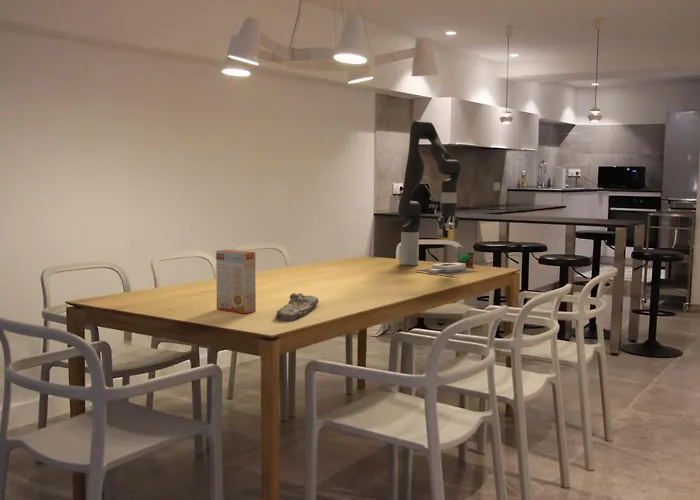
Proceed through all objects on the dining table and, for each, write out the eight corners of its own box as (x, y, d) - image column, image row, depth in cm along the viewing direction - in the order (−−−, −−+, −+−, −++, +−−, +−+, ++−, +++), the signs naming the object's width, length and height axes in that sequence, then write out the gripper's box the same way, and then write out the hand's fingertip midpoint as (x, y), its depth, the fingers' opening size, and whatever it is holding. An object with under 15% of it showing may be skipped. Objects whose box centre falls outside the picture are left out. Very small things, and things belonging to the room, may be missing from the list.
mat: (416, 272, 351) (416, 270, 351) (443, 268, 365) (443, 267, 365) (451, 277, 335) (451, 275, 335) (478, 273, 349) (478, 271, 349)
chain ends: (424, 271, 346) (424, 265, 346) (454, 268, 361) (454, 262, 360) (439, 274, 339) (439, 267, 339) (469, 270, 354) (469, 263, 354)
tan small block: (442, 239, 348) (442, 229, 348) (447, 239, 351) (447, 228, 351) (448, 240, 346) (448, 229, 345) (453, 239, 348) (454, 229, 348)
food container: (450, 265, 378) (451, 246, 377) (460, 265, 380) (461, 246, 379) (463, 268, 367) (464, 249, 366) (474, 268, 369) (474, 248, 368)
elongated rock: (268, 325, 235) (297, 328, 233) (268, 309, 234) (298, 312, 232) (297, 301, 269) (323, 303, 267) (297, 287, 268) (324, 289, 266)
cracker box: (256, 312, 249) (256, 251, 247) (243, 314, 244) (243, 253, 242) (229, 307, 258) (228, 248, 255) (216, 309, 253) (215, 250, 251)
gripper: (452, 201, 354) (451, 236, 356) (433, 202, 344) (432, 238, 346) (464, 201, 348) (463, 237, 350) (445, 202, 339) (444, 239, 341)
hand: (447, 237), depth 348 cm, fingers closed on tan small block, 4 cm apart
